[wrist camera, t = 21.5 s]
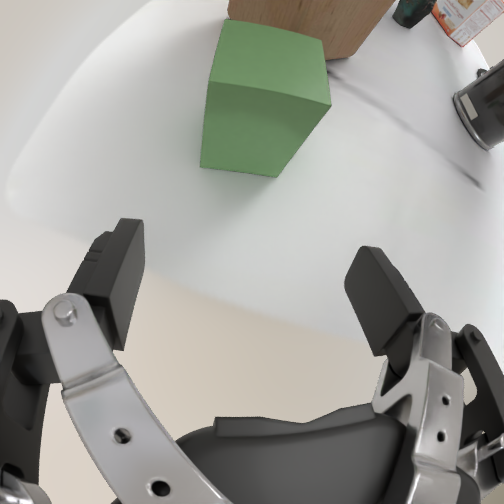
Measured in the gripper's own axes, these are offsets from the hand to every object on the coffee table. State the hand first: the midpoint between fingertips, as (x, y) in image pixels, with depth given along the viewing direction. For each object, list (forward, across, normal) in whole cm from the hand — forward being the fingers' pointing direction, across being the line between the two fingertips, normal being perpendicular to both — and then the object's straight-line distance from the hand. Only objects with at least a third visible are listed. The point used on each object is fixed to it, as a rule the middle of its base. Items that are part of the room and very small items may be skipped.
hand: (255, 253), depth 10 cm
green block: (+11, 0, -2) cm, 11 cm away
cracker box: (+48, -45, -39) cm, 76 cm away
